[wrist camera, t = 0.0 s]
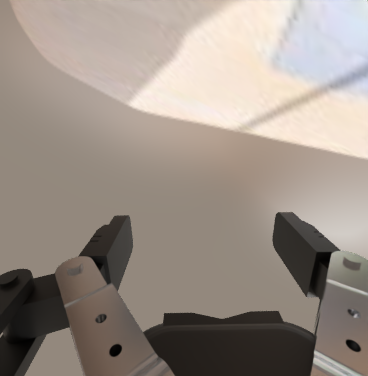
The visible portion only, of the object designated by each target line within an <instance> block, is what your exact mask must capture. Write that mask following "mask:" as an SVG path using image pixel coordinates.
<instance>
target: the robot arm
mask: <svg viewBox="0 0 368 376" xmlns="http://www.w3.org/2000/svg"><path fill="white" fill-rule="evenodd" d="M273 246H274V248H275V250H276V252H277V253H278V255H279V256H280V258H281V259H282V261H283V262H284V264H285V265H286V267H287V268H288V270H289V271H290V273H291V274H292V276H293V277H294V279H295V280H296V282H297V284H298V285H299V287H300V288H301V290H302V291H303V293H304V294H305V296H306V297H319V299H320V302H319V307H318V311H317V316H316V321H315V326H314V332H313V333H311V332H309V331H307V330H305V329H304V328H302V327H299V326H296V325H294V324H291V323H288V322H284V321H283V320H282V318H281V316H280V313H279V312H278V311H261V312H260V311H258V312H247V313H244V314H240V315H237V316H233V317H229V318H225V319H219V318H214V317H210V316H205V315H200V314H195V313H164V320H163V323H162V324H159V325H157V326H154V327H152V328H150V329H148V330H146V331H144V332H142V330H141V329H140V327H139V326H138V324H137V322H136V321H135V319H134V318H133V316H132V314H131V313H130V311H129V309H128V308H127V306H126V305H125V303H124V301H123V300H122V298H121V296H120V295H119V293H118V289H119V286H120V283H121V280H122V277H123V275H124V272H125V269H126V267H127V264H128V261H129V258H130V255H131V253H132V248H133V239H132V231H131V222H130V217H129V216H128V215H127V216H125V215H124V216H114V217H113V219H112V221H111V222H110V224H109V225H104V226H102V227H101V228H99V229H98V230H97V231H96V233H95V234H94V235H93V237H92V238H91V239H90V242H88V244H87V245H86V246H85V248H84V249H83V251H82V252H81V253H80V255H79V256H78V257H75V258H72V259H69V260H67V261H65V262H63V263H62V264H61V265H60V266H59V267H58V268H57V269H56V271H55V273H54V274H51V275H46V276H42V277H38V278H33V276H32V273H31V271H30V270H28V269H17V270H13V271H10V272H7V273H4V274H2V275H0V334H1V333H2V332H3V335H2V336H1V338H0V376H24V375H25V373H26V372H27V370H28V368H29V366H30V364H31V362H32V360H33V359H34V357H35V355H36V353H37V351H38V350H39V348H40V346H41V344H42V342H43V340H44V339H45V337H46V335H47V334H48V333H52V332H55V331H58V330H61V329H65V328H68V327H70V331H71V334H72V338H73V341H74V345H75V348H76V352H77V355H78V359H79V362H80V365H81V368H82V372H83V376H368V260H367V259H366V258H364V257H362V256H360V255H358V254H355V253H351V252H347V251H340V250H339V249H338V248H337V247H336V246H335V245H334V244H333V243H331V242H330V241H329V240H328V239H327V238H326V237H324V235H322V234H321V233H319V231H318V230H317V229H316V228H315V227H314V226H312V225H310V224H308V223H306V222H304V221H302V220H301V219H299V218H298V217H297V216H296V215H295V214H294V213H293V212H278V213H277V214H276V217H275V224H274V232H273Z"/></svg>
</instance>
